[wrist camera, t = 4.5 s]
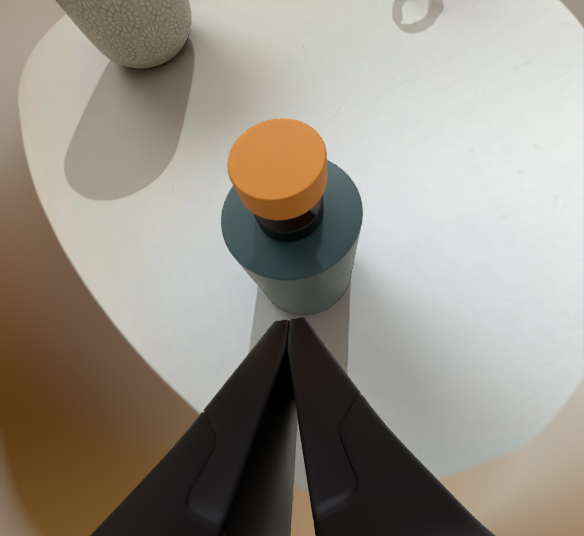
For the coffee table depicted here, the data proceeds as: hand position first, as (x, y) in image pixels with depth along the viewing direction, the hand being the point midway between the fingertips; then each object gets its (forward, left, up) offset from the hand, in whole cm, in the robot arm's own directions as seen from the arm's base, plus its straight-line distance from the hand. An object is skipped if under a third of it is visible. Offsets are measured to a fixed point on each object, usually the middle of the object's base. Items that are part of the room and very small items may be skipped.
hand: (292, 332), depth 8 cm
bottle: (+7, 0, -14) cm, 15 cm away
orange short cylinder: (+7, 0, -2) cm, 7 cm away
